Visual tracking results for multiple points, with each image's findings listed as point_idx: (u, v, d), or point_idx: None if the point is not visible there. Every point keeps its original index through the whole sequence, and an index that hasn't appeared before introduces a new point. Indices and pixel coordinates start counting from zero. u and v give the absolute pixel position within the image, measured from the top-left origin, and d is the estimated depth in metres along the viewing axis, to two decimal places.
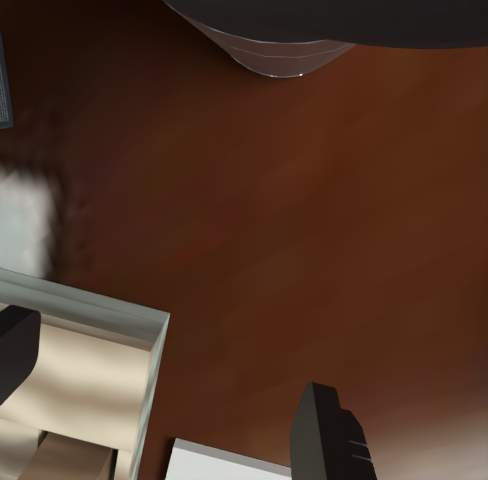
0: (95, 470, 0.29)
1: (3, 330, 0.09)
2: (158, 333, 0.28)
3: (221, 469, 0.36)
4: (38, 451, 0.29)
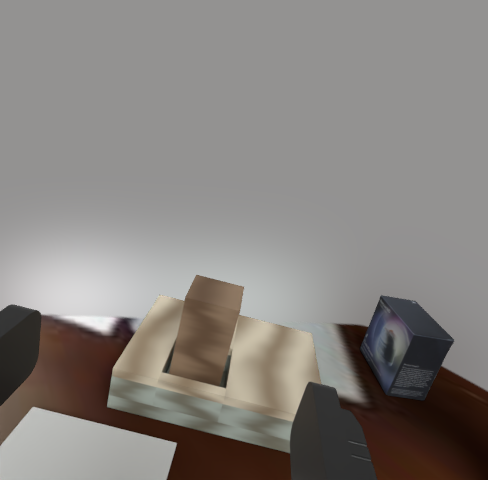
0: (224, 366, 0.38)
1: (3, 330, 0.09)
2: None
3: None
4: None
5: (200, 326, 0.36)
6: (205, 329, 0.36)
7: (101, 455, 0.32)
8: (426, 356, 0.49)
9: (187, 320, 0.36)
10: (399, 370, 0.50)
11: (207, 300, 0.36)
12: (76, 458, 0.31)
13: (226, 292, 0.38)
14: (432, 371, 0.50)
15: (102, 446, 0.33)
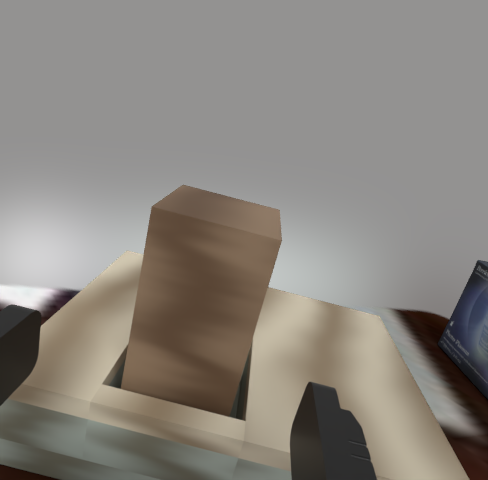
0: None
1: (3, 330, 0.09)
2: None
3: None
4: None
5: (188, 279, 0.16)
6: (199, 287, 0.16)
7: None
8: None
9: (158, 265, 0.16)
10: None
11: (204, 216, 0.15)
12: None
13: (245, 211, 0.18)
14: None
15: None
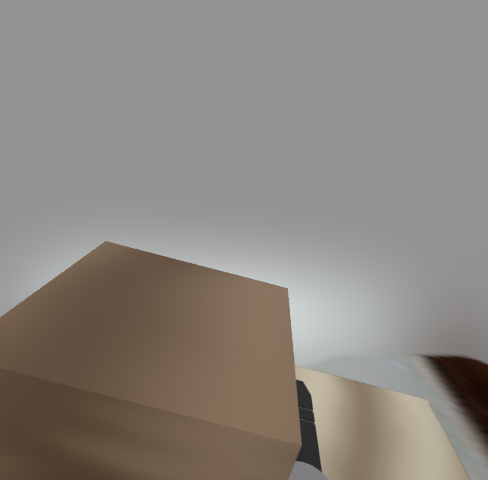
0: None
1: None
2: None
3: None
4: None
5: None
6: None
7: None
8: None
9: None
10: None
11: (99, 367, 0.06)
12: None
13: (217, 311, 0.08)
14: None
15: None
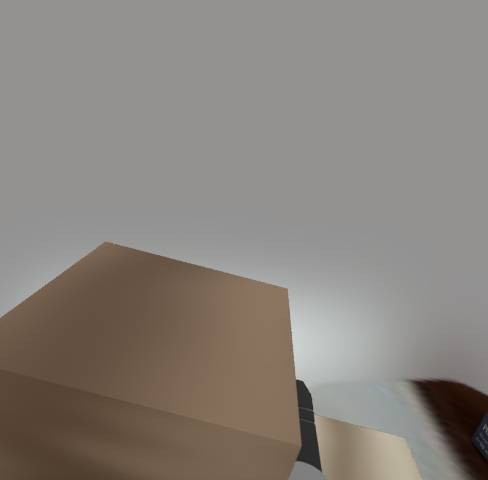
0: None
1: None
2: None
3: None
4: None
5: None
6: None
7: None
8: None
9: None
10: None
11: (99, 368, 0.06)
12: None
13: (217, 311, 0.08)
14: None
15: None
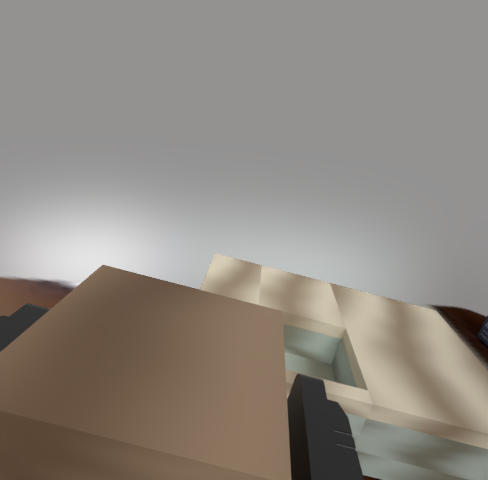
0: None
1: (22, 328, 0.09)
2: None
3: None
4: None
5: None
6: None
7: None
8: None
9: None
10: None
11: (95, 406, 0.06)
12: None
13: (212, 339, 0.09)
14: None
15: None
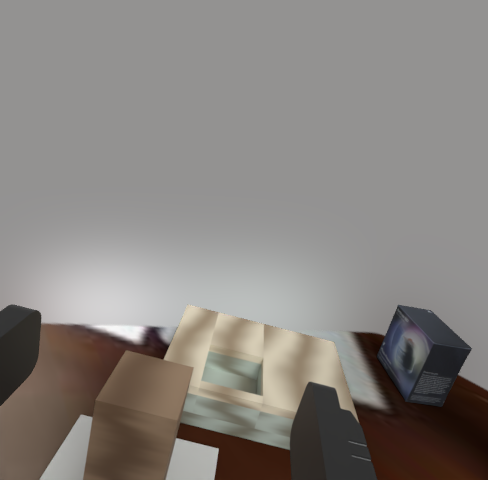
0: None
1: (3, 330, 0.09)
2: None
3: None
4: (175, 439, 0.31)
5: (120, 439, 0.24)
6: (128, 445, 0.24)
7: None
8: (444, 364, 0.51)
9: (101, 431, 0.24)
10: (419, 378, 0.52)
11: (129, 402, 0.24)
12: None
13: (164, 381, 0.26)
14: (450, 378, 0.52)
15: None
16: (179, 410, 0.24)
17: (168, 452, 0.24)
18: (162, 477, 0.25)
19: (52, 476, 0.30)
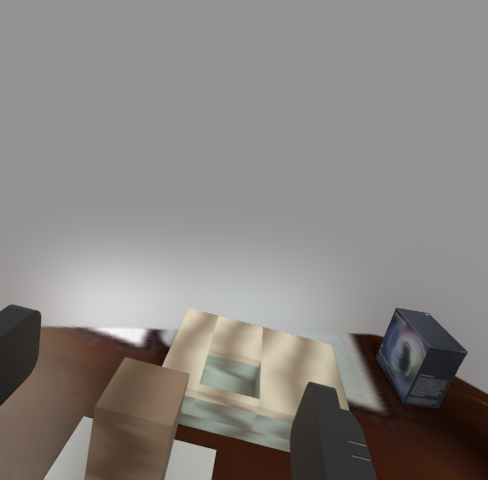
0: None
1: (3, 330, 0.09)
2: None
3: None
4: None
5: (119, 443, 0.26)
6: (126, 448, 0.26)
7: None
8: (440, 367, 0.52)
9: (100, 436, 0.25)
10: (415, 380, 0.53)
11: (127, 408, 0.25)
12: None
13: (161, 387, 0.28)
14: (446, 381, 0.53)
15: None
16: (174, 416, 0.25)
17: (164, 456, 0.26)
18: (159, 479, 0.26)
19: (56, 476, 0.32)
